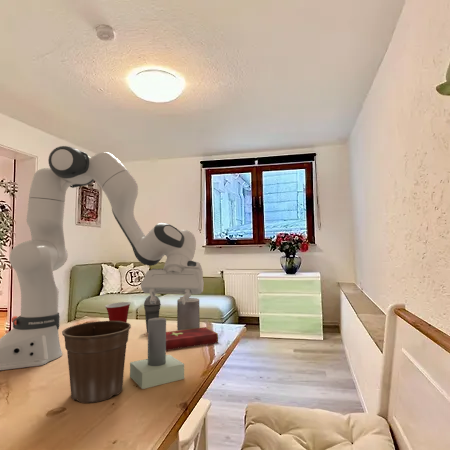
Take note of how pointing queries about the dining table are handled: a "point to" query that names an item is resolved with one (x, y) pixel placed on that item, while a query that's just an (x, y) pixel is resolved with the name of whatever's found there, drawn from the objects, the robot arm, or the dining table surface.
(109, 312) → the plastic cup
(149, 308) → the beverage cup
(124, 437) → the dining table surface
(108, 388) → the plant pot
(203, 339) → the hardcover book
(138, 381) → the block
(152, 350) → the slate jar
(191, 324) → the pillar candle
